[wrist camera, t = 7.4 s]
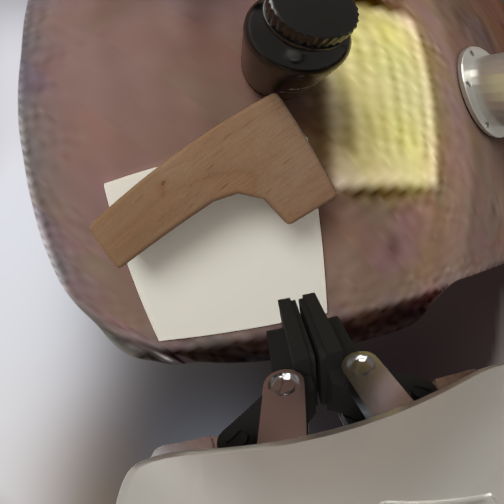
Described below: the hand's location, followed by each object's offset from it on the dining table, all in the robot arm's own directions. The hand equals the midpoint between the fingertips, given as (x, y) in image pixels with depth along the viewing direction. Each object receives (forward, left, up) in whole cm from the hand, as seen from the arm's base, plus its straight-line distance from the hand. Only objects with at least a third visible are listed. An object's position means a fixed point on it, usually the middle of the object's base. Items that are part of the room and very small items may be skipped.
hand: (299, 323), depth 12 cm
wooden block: (-4, -8, -11) cm, 14 cm away
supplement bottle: (-4, -15, -14) cm, 21 cm away
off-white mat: (+5, +1, -14) cm, 15 cm away
